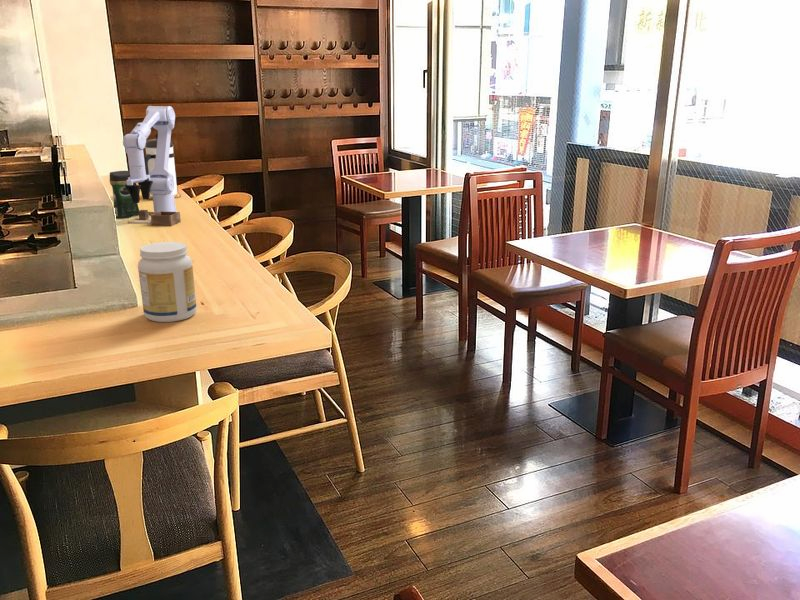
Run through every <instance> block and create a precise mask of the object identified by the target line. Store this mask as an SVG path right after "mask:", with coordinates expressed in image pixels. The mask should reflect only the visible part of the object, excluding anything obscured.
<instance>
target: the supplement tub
mask: <svg viewBox="0 0 800 600" xmlns="http://www.w3.org/2000/svg"><path fill="white" fill-rule="evenodd" d="M187 248H188V247H187V244H186V243H184V242H181V241H180V242H179V241H178V242H177V241H159V242H152V243H149V244H145V245H142V246H141V247H140V248H139V251H140V252H139V256H140V257H141V258H140V259H139V261H138V264H137V269H138V271H137V272H138V278H139V286H140V293H141V302H142V308H143V315H144V317H145V318H146V319H148V320H150V321H153V322H155V323H174V322H179V321H182V320H183V321H184V320H186V319H188V318H191V317H193V316H194V315H195V314H196V312H197V309H198V307H197V298H196V297H197V296H196V289H195V288H196V287H195V277H194V269H193V268H194V266H193V261H192V258H191V256H189V255H188V254H187V253H188V249H187Z"/></svg>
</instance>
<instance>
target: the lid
mask: <svg viewBox="0 0 800 600" xmlns="http://www.w3.org/2000/svg"><path fill="white" fill-rule="evenodd" d="M138 213H139V215H138V216H136V217H135V218H133V219H130V220H128V221H127V223H128V224H136V225H137V224H140V225H141V224H142V225H150V224H151V225H152V223H151V216H149V210H148V209H139V211H138Z"/></svg>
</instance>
